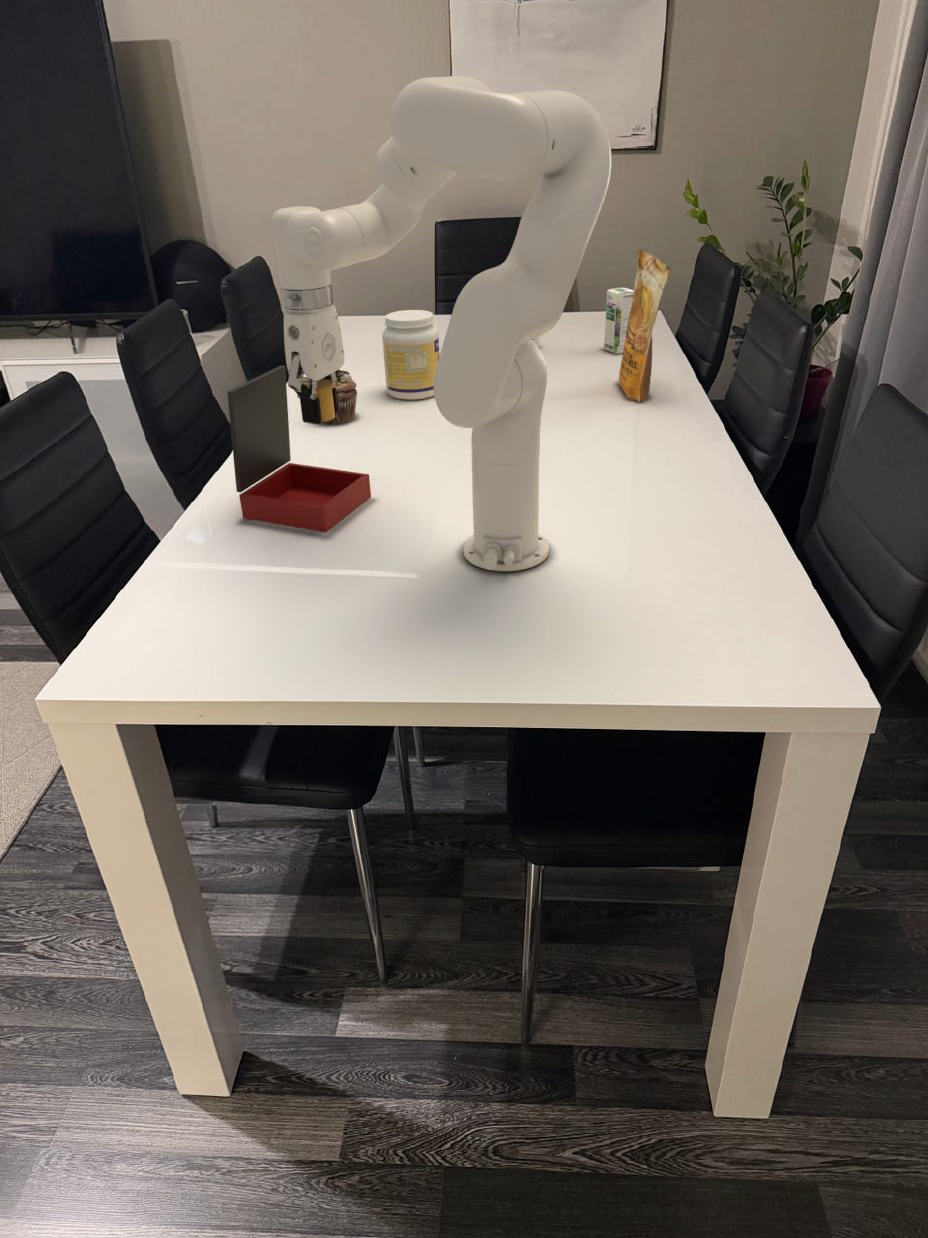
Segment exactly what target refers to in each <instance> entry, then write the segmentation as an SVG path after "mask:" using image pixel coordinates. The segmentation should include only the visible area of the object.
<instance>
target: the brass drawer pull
mask: <svg viewBox="0 0 928 1238" xmlns="http://www.w3.org/2000/svg"><path fill="white" fill-rule="evenodd" d="M304 385H307V387H308V388H309V389H310V382H304ZM334 387H335V382H334V381H333V380H330V379H320V380H318V381H317V396H316V398H319V400H320V409H321V417H322V422H325V421H329V420H332V419H333V418H335V412H334V403H333V394H332V388H334Z"/></svg>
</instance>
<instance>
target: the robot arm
mask: <svg viewBox="0 0 928 1238" xmlns="http://www.w3.org/2000/svg"><path fill="white" fill-rule="evenodd" d="M390 127H391V128H390V130H391V136H390V137H389V138H388V139H387V140H386V141H385V142H384V143H383V144H382V145H381V147H380V148H379V150H378V152H377V153H376V157H375V166H376V172H377V175H378V178H379V180H380V182H381V185H380V186H379V187H378V188H377V189H376V190H375V191H374V192H373V193H372V194H371V195H369V197H368V198H367V199H365V200H364V201H362V202H361V203H357V204H351V205H347V206H340V207H335V208H332V209H326V210H321V209H319V208H317V207H315V206H307V205H305V206H304V205H300V206H299V205H297V206H287V207H281V208H279V209H276V210H275V211H274V212H273V214H272V217H271V227H272V235H273V242H274V243H273V244H274V251H275V257H276V266H277V273H278V282H279V291H280V299H281V305H282V311H283V342H284V343H283V344H284V354H285V363H286V368H287V369H286V370H287V373H288V381H287V386H288V388H290V389H292V390H293V391H294V392H295V393H296V396H297V398H298V399H299V403H300V411H301V418H302V422H303V423H306V424H316V425H320V424H322V423H321V422H322V417H321V409H320V400H319V398H316V396H317V381H318V380H320V379H330V380H333V381H334V382H335V387H337V374H338V369H339V370H341V368H342V367H343V366H344V365H345V350H344V343H343V337H342V330H341V324H340V321H339V316H338V312H337V308H336V305H335V303H334V297H333V296H334V295H333V287H332V275H331V271H332V270H338V269H342V268H345V267H349V266H352V265H355V264H358V263H359V264H360V263H362V262H363V263H364V262H367V261H372V260H375V259H378V258H380V257H382V256H383V255H385V254H387V253H388V252H389V251H391V250H392V249H393V248H394V247H396V245H398V244H399V243H400V242H401V241H402V240H403V239H404V238H405V237H406V236H408V235H409V234H410V232H412V231H413V230H414V228H415V227H416V226H418V223H419V222H420V220H421V219H422V216H423V214H424V212H425V209H426V206H427V202H428V201H429V200H431V198H432V197H434V196H435V195H436V194H437V193H438V192H439V191H440V190H441V189H442V188H443V187H444V186H445V185H446V184H448V182H449V181H451V180H452V179H453V178H454V177H455V176H456V175H457V174H458V173H459V174H463V175H464V174H465V175H468V176H471V177H472V176H473V177H476V178H477V177H478V178H482V179H486V180H491V181H499V182H514V181H520V180H526V179H530V178H535V177H540V182H539V184H538V187H537V188H536V190H535V192H534V194H533V195H532V197H531V199H530V200H529V202H528V204H527V206H526V207H525V209H524V211H523V213H522V216H521V218H520V221H519V225H518V229H517V232H516V235H515V238H514V240H513V243H512V246H511V249H510V251H509V253H508V255H507V256H506V259H505V260H504V262H502V263H501V264H499V265H497V266H495V267H492V268H488V269H485V270H483V271H481V272H479V273H477V274H476V275H474V276H473V277H472V278H471V279H470V280H469V281H467V283H466V284H465V285H464V286H463V288H462V290H461V291H460V293H459V294H458V296H457V297H456V301H455V303H454V306H453V309H452V312H451V315H450V318H449V322H448V325H447V328H446V333H445V335H444V338H443V339H444V340H443V343H442V346H441V350H440V352H439V360H438V363H437V367H436V371H435V376H434V396H433V397H434V401H435V404H436V406H437V409H438V411H439V413H440V414H441V415H442V417H443V418H444V419H445V420H446V421H447V422H448V423H450V424H452V425H454V426H455V427H459V428H463V429H472V430H471V437H470V438H471V440H470V441H471V443H470V448H471V451H470V452H471V454H470V455H471V479H472V480H471V484H472V485H471V487H472V489H471V490H472V491H471V492H472V523H473V534H472V535H471V536H469V537H468V538H467V539H466V540H465V542H464V543H463V557H464V558H465V559H466V560H467V562H469V563H470V564H471V565H473V566H476V567H478V568H481V569H484V570H488V571H494V572H518V571H523V570H527V569H530V568H533V567H535V566H538V565H539V564H541V563H542V562H544V561H545V560H546V559H547V557H548V556H549V550H550V549H549V546H550V545H549V543H548V541H547V539H546V538H545V537H543V536H542V535H541V534H539V514H540V513H539V512H540V511H539V510H540V509H539V508H540V505H539V504H540V503H539V502H540V500H539V499H540V496H539V495H540V454H541V453H540V451H541V449H540V447H541V426H542V425H541V424H542V423H541V422H542V415H543V414H542V413H543V407H544V402H545V396H546V389H547V383H548V368H547V367H548V366H547V362H546V358H545V356H544V353H543V351H542V350H541V348H540V346H538V345H537V344H536V343H535V342H534V341H532V339H535V338H537V337H539V336H540V337H541V336H543V335H544V334H546V333H548V332H549V331H551V330H552V329H553V328H554V327H556V325H557V324H558V322H559V321H560V320H561V317H562V315H563V312H564V310H565V307H566V304H567V301H568V300H569V299H568V298H569V296H570V293H571V291H572V288H573V285H574V283H575V280H576V276H577V274H578V271H579V269H580V266H581V265H582V262H583V258H584V255H585V252H586V249H587V246H588V243H589V241H590V238H591V236H592V233H593V231H594V227H595V225H596V223H597V221H598V218H599V215H600V212H601V210H602V207H603V205H604V202H605V199H606V196H607V194H608V189H609V185H610V179H611V174H612V163H613V162H612V159H613V158H612V157H613V156H612V148H611V147H612V146H611V143H610V137H609V133H608V131H607V129H606V126H605V124H604V122H603V119H602V118H601V116H600V115H599V113H598V111H596V110H595V108H594V107H593V106H592V104H590V103H589V101H588V100H586V99H584V98H583V97H581V96H580V95H578V94H575V93H573V92H571V91H566V90H559V89H545V90H534V91H524V92H523V91H522V92H511V93H502V92H494V91H492V90H491V89H490V88H489V87H488V86H487V85H486V84H484V82H482V81H481V80H479V79H477V78H474V77H472V76H471V77H470V76H465V75H451V76H450V75H449V76H433V77H432V76H431V77H423V78H418V79H416V80H414V81H412V82H410V83H408V84H407V85H406V86H405V87H404V88H403V89H402V90H401V91H400V92H399V94H398V96H397V97H396V98H395V101H394V104H393V106H392V110H391V114H390ZM304 375H305V376H304ZM304 382H310V389H309V388H308V387H307V385H304ZM332 394H333V403H334V412H335V413H337V412H338V402H337V392H336V388H332Z"/></svg>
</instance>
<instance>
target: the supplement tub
mask: <svg viewBox="0 0 928 1238" xmlns="http://www.w3.org/2000/svg"><path fill="white" fill-rule="evenodd" d="M384 318H385V319H384V320H385V321H384V325H385V326H386V327H385V328H384V330H383V332H382V335H381V337H382V338H381V339H382V349H383V364H384V375H385V387H386V393H388V395H389V396H391V397H393V398H395V399H399V400H407V401H408V400H411V401H413V400H415V401H416V400H423V399H427V398H432V397H434V376H435V371H436V367H437V363H438V360H439V356H440V345H439V344H440V340H439V339H440V338H439V331H438V328H437V327H436V326H435V325H434V323H435V319H434V313H433V312H431V311H429V310H424V309H406V310H396V311H392V312H389V313H387V314H385V316H384Z"/></svg>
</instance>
